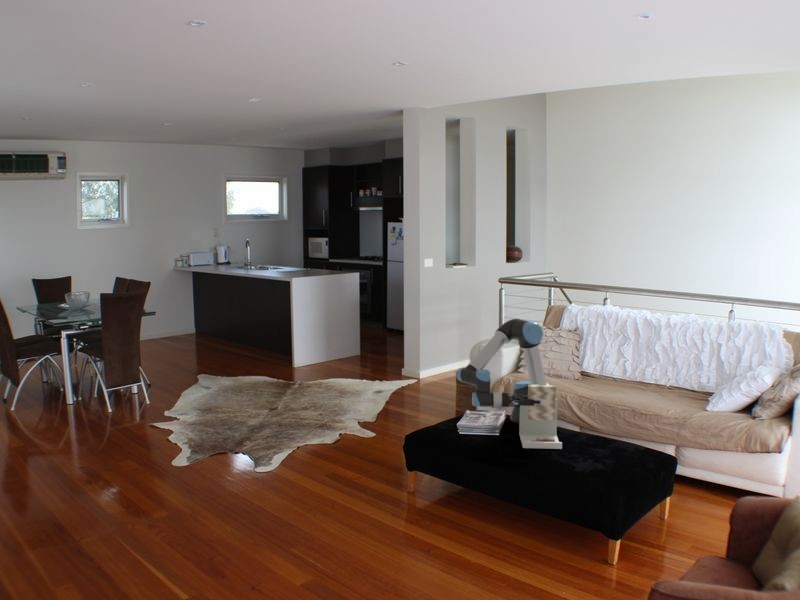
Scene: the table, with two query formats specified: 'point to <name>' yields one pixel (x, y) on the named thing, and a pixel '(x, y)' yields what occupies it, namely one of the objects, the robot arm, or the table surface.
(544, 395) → the beige zigzag-marked block
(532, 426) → the tray with upright backboard
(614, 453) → the table surface
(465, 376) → the robot arm
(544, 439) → the offcut slab top
